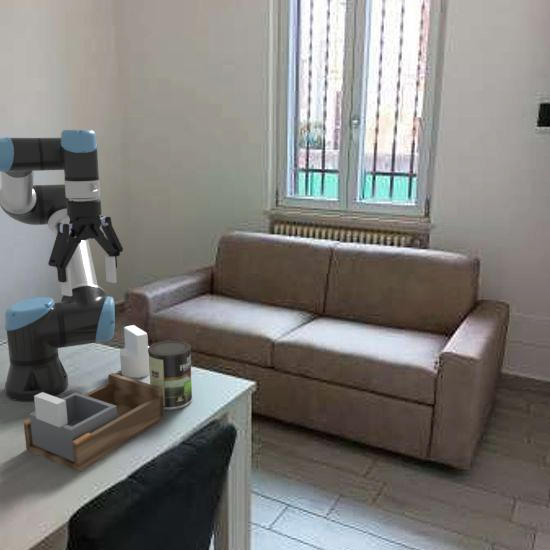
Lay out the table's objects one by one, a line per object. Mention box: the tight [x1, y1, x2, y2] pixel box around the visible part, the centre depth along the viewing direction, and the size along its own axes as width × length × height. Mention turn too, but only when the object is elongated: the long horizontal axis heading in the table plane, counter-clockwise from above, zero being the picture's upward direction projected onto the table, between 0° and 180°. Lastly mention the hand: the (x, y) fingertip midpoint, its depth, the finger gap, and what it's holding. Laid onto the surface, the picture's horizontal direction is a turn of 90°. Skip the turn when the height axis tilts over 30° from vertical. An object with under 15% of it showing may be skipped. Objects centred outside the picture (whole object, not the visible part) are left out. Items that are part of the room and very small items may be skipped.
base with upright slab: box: [119, 324, 151, 379], centre depth 162 cm, size 9×9×12 cm
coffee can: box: [148, 340, 193, 411], centre depth 145 cm, size 10×10×14 cm
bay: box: [23, 372, 165, 473], centre depth 129 cm, size 16×25×8 cm, turn 149°
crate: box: [29, 391, 117, 462], centre depth 123 cm, size 13×12×12 cm
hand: (90, 288), depth 140 cm, fingers open, 13 cm apart
